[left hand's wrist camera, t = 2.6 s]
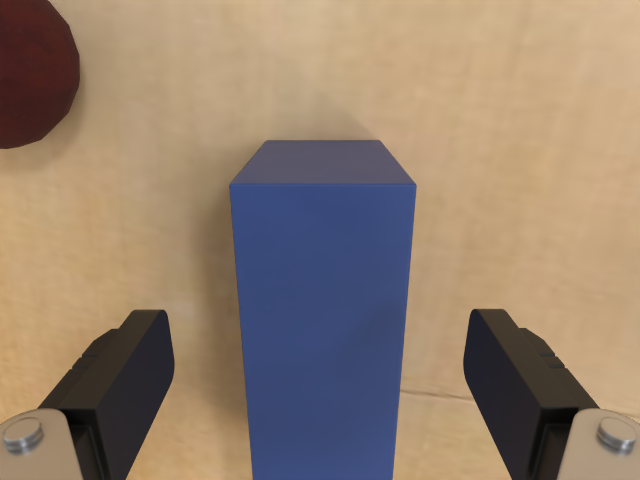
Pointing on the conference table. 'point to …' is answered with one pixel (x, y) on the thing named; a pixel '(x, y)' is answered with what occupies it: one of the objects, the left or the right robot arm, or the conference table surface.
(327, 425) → the box
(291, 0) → the conference table surface
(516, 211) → the conference table surface
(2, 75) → the potato
